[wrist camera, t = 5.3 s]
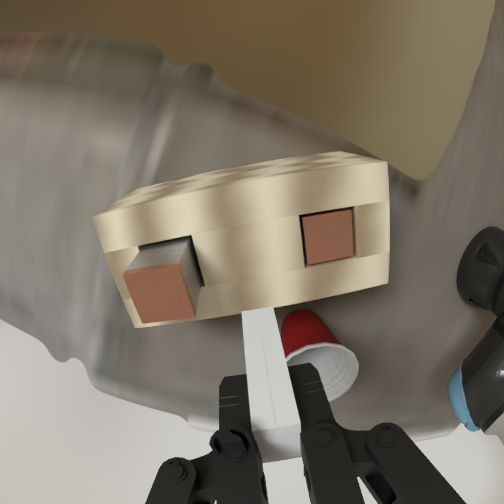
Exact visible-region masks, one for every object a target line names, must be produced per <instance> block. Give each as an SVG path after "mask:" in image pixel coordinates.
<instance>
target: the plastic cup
mask: <svg viewBox="0 0 504 504" xmlns="http://www.w3.org/2000/svg"><path fill="white" fill-rule="evenodd" d="M281 342H282V346H283V351H284V355H285V359H286V363H287V367H288V366H293V365H299V364H304V363H308V362H310V363H311V364H312V365H313V366H314V367H315V368H316V369H317V370H318V372H319V375H320V378H321V381H322V384H323V386H324V390H325V392H326V395H327V398H328V401H329V402H330V401H332V400H334V399H336V398H338V397H340V396H341V395H342V394H343V393H345V392H346V391H347V390H348V389H349V388H350V387H351V386H352V384H353V383H354V381H355V379H356V378H357V376H358V369H359V363H358V360H357V358H356V356H355V354H354V353H353V352H352V351H350V350H349V349H347V348H346V347H344V346H343V345H342V344H341V343H339V342H338V340H337V339H336V338H335V337H334V335H333V334H332V333H331V331H330V330H329V329H328V328H327V326H326V325H325V324H324V323H323V322H322V321H321V319H320V318H319V317H318V315H316V314H315V313H314V312H312V311H310V310H305V309H301V310H296V311H294V312H292V313H290V314H289V315H288V316H287V317H286V318H285V319H284V321H283V323H282V327H281Z"/></svg>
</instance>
